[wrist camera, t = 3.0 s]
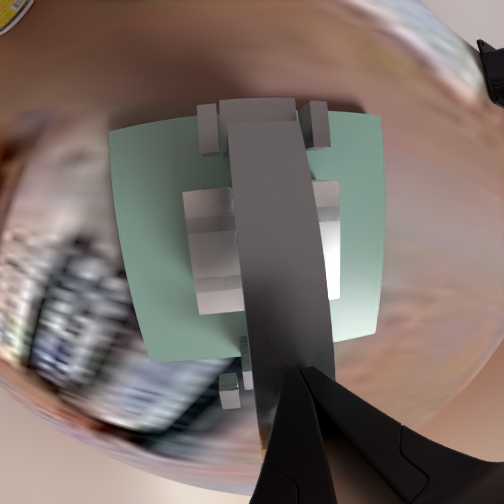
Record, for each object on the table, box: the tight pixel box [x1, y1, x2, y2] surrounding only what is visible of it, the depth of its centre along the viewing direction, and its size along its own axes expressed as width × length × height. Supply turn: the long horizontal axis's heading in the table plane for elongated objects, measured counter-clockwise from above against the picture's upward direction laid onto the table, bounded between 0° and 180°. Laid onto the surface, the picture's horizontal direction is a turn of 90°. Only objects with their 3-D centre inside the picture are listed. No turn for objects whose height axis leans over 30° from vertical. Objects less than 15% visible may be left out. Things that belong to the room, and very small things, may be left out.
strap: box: [227, 121, 335, 462], centre depth 8 cm, size 11×2×2 cm, turn 4°
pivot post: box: [197, 97, 331, 158], centre depth 11 cm, size 4×2×6 cm, turn 94°
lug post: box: [219, 336, 253, 409], centre depth 14 cm, size 4×1×6 cm, turn 94°
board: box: [108, 110, 385, 362], centre depth 14 cm, size 14×13×1 cm
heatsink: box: [183, 179, 340, 315], centre depth 12 cm, size 6×5×3 cm
